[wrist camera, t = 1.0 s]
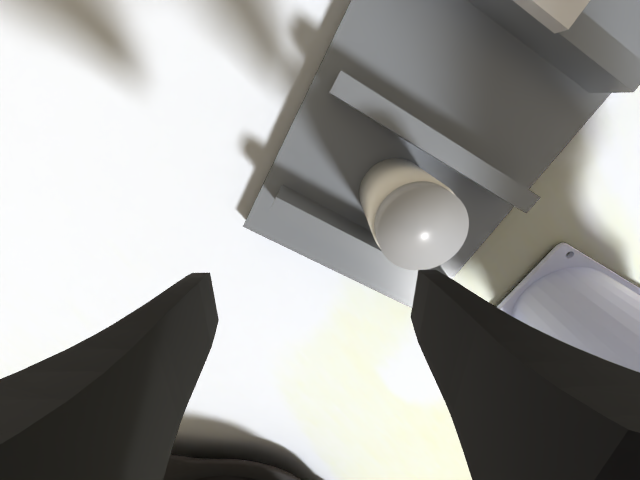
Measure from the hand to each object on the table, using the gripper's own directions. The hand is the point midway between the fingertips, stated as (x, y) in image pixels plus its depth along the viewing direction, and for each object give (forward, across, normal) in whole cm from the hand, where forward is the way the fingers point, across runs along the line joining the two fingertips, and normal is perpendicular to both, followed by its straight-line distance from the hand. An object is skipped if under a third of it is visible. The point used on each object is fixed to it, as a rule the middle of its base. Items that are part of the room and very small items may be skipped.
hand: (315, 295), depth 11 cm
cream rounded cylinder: (+9, -5, -1) cm, 10 cm away
